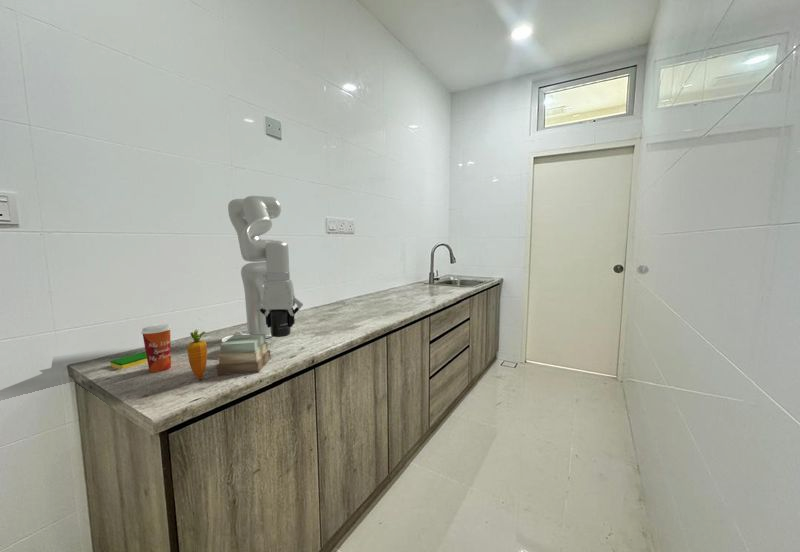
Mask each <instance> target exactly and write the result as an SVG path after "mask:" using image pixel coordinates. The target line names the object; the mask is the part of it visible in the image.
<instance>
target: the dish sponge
mask: <svg viewBox="0 0 800 552" xmlns="http://www.w3.org/2000/svg"><path fill="white" fill-rule="evenodd" d="M142 363H143V364H146V363H148V361H147V356H146V351H142V352H138V353H135V354H131V355H128V356H127V355H126V356H123V357H120V358H115V359H113V360H110V367H111V366H112V367H111V368H113V367H116V368H115V369H117V368H119V369H118V370H120V369H123V370H125V369H124V368H126V369H128V367H130V368H132V367H131V366H133V367H136V366H139V364H140V365H142ZM135 365H136V366H135Z"/></svg>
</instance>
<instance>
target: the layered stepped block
mask: <svg viewBox="0 0 800 552" xmlns="http://www.w3.org/2000/svg"><path fill="white" fill-rule="evenodd" d="M268 346H269V344H268V342H267V341H266V339H265V334H254V335H234V336H232V337H231V338H229V339H228V340H226V341H225V342H223V343H222V342H221V344H219V347H220V348H219V349H220V353H219V354H218V364H217V365H216V369H217V371H216V372H217V375H218V376H219V375H221V376H222V375H234V374H235V375H236V374H237V373H239V374H255V373H254V372H256V373H260V372H261V370H262V369H264V367H265V366H266V364H268V362H269V361H270V360H271V350H269V347H268ZM237 375H238V374H237Z"/></svg>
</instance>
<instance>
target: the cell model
mask: <svg viewBox="0 0 800 552" xmlns="http://www.w3.org/2000/svg"><path fill="white" fill-rule="evenodd" d="M234 335H250V334H246V333H242V332H241V331H235V332H234V333H233V334H231V335H227V336H225V337H223V338H221V344H222V343H223V342H225V341H226V340H228V339H229V338H231V337H232V336H234Z"/></svg>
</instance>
